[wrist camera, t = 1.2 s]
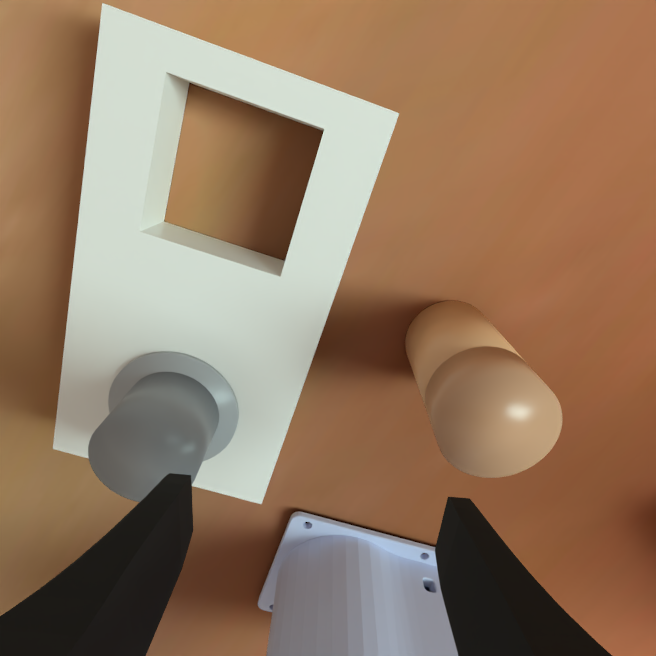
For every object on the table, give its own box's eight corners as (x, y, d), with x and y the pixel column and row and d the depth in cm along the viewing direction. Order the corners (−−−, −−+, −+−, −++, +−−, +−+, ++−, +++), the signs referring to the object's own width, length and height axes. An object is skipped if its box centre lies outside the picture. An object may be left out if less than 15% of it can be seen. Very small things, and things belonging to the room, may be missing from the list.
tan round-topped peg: (505, 316, 20) (586, 394, 14) (468, 388, 22) (525, 490, 15) (425, 289, 20) (468, 357, 13) (392, 364, 21) (417, 459, 15)
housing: (390, 118, 17) (416, 102, 12) (268, 469, 24) (247, 567, 18) (136, 24, 16) (29, -43, 11) (81, 418, 23) (-2, 505, 17)
